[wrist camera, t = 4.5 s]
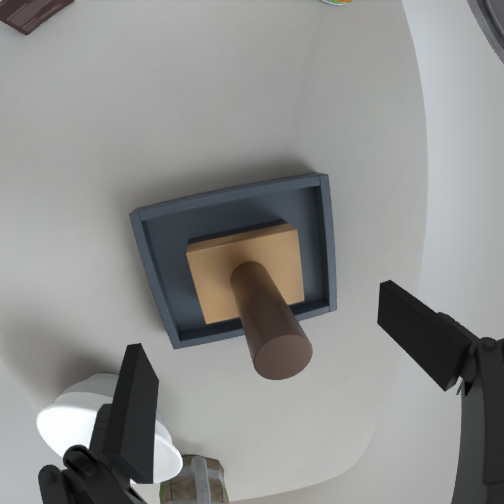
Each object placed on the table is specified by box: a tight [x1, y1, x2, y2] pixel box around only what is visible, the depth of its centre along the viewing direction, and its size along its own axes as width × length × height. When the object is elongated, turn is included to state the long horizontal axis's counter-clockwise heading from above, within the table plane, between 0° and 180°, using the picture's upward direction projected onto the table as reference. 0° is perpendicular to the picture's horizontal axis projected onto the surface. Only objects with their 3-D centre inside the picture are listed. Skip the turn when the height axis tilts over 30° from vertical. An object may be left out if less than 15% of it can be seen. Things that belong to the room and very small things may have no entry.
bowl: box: [36, 373, 183, 484], centre depth 23 cm, size 16×16×8 cm
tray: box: [129, 173, 337, 349], centre depth 23 cm, size 16×13×2 cm
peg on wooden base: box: [186, 219, 313, 380], centre depth 18 cm, size 8×6×12 cm
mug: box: [159, 455, 229, 504], centre depth 28 cm, size 16×11×12 cm
